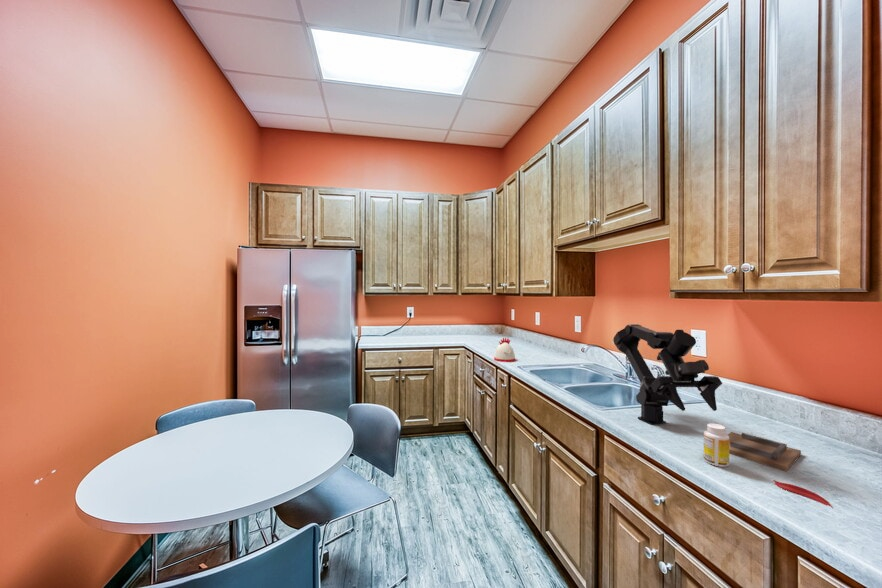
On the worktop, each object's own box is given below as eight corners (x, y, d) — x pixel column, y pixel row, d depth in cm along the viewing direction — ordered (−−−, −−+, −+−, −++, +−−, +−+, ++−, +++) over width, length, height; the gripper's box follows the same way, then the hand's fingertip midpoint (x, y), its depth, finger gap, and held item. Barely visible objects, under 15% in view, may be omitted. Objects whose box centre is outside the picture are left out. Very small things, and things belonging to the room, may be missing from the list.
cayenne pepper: (764, 481, 87) (764, 474, 87) (781, 480, 88) (781, 472, 88) (821, 512, 76) (821, 503, 75) (840, 510, 76) (840, 502, 76)
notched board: (712, 448, 105) (712, 439, 104) (731, 435, 114) (731, 427, 114) (786, 471, 91) (786, 461, 91) (800, 454, 100) (800, 445, 100)
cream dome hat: (518, 361, 229) (518, 338, 229) (499, 362, 226) (499, 339, 226) (509, 357, 243) (509, 335, 243) (491, 358, 239) (490, 336, 239)
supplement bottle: (729, 462, 96) (730, 425, 96) (728, 470, 92) (728, 431, 92) (704, 455, 100) (705, 420, 100) (702, 463, 96) (702, 426, 96)
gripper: (657, 350, 107) (681, 397, 96) (717, 350, 107) (748, 396, 96) (642, 369, 115) (663, 415, 104) (698, 369, 115) (725, 414, 104)
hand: (699, 410), depth 102 cm, fingers open, 9 cm apart
